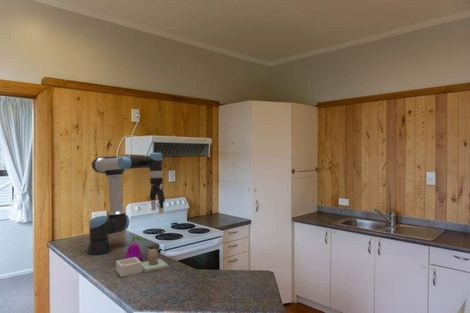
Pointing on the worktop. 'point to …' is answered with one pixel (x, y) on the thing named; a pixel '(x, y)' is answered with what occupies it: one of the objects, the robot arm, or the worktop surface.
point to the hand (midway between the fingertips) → (157, 211)
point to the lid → (153, 261)
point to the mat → (154, 270)
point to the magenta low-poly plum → (134, 250)
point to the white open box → (128, 267)
